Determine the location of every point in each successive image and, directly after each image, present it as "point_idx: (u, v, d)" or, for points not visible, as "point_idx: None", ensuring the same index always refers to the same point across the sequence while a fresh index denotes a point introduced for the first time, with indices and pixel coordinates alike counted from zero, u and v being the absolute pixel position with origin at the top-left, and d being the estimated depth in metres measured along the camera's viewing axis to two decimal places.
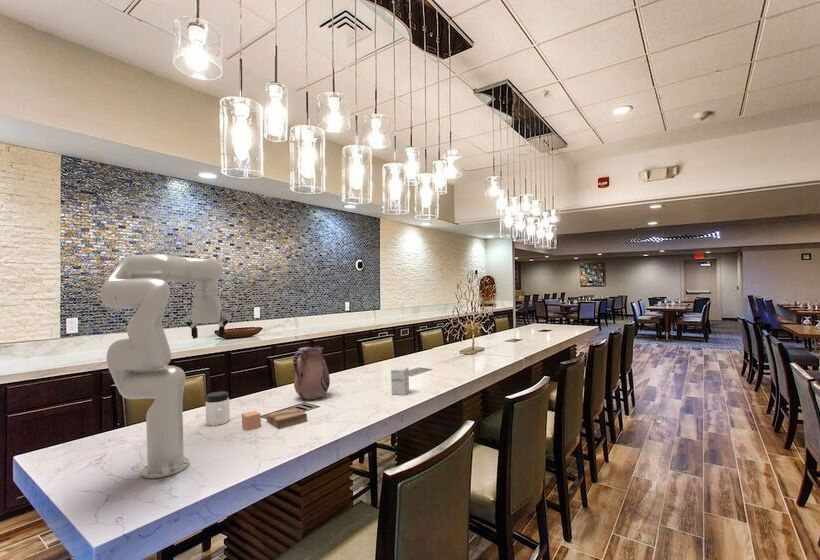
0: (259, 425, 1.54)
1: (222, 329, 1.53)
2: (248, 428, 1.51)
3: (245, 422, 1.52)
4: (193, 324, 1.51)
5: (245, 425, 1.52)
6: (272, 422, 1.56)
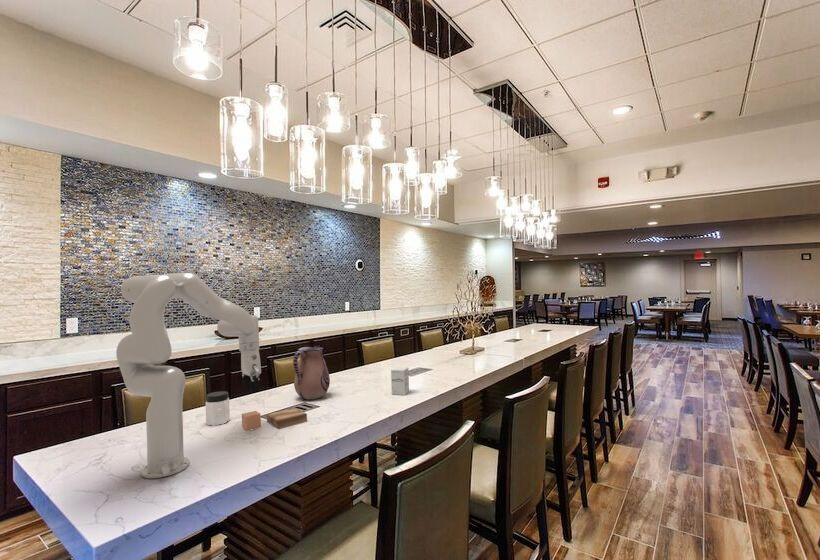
0: (259, 425, 1.54)
1: None
2: (248, 428, 1.51)
3: (245, 422, 1.52)
4: None
5: (245, 425, 1.52)
6: (272, 422, 1.56)
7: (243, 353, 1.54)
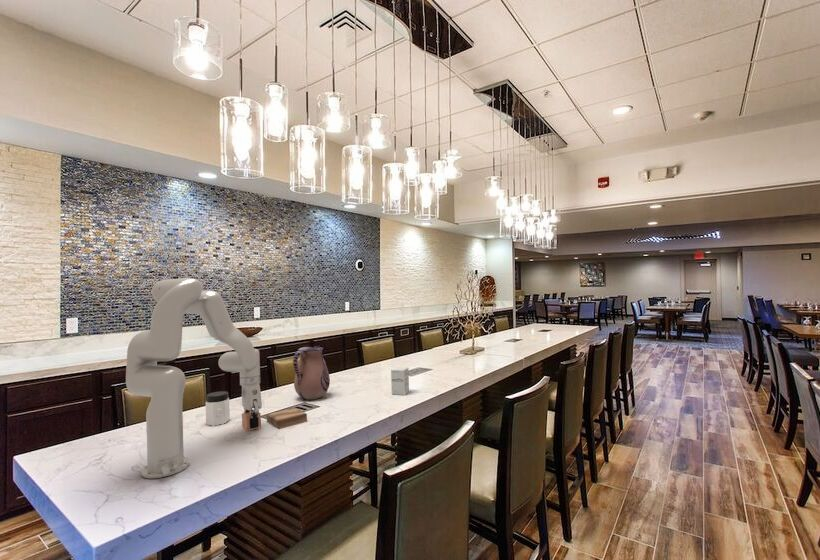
0: (259, 425, 1.54)
1: None
2: (248, 428, 1.51)
3: (245, 422, 1.52)
4: None
5: (245, 425, 1.52)
6: (272, 422, 1.56)
7: (244, 387, 1.53)
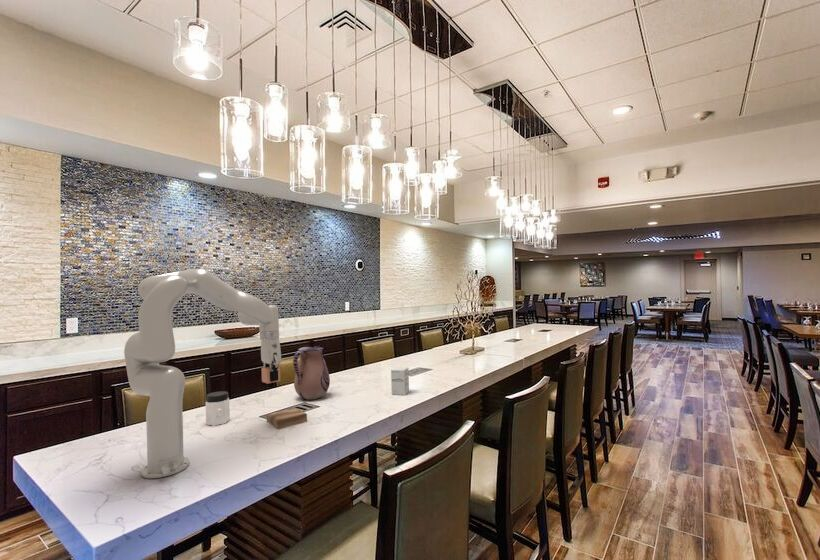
0: (279, 378, 1.58)
1: None
2: (268, 381, 1.55)
3: (265, 375, 1.56)
4: None
5: (265, 378, 1.56)
6: (272, 422, 1.56)
7: (264, 342, 1.57)
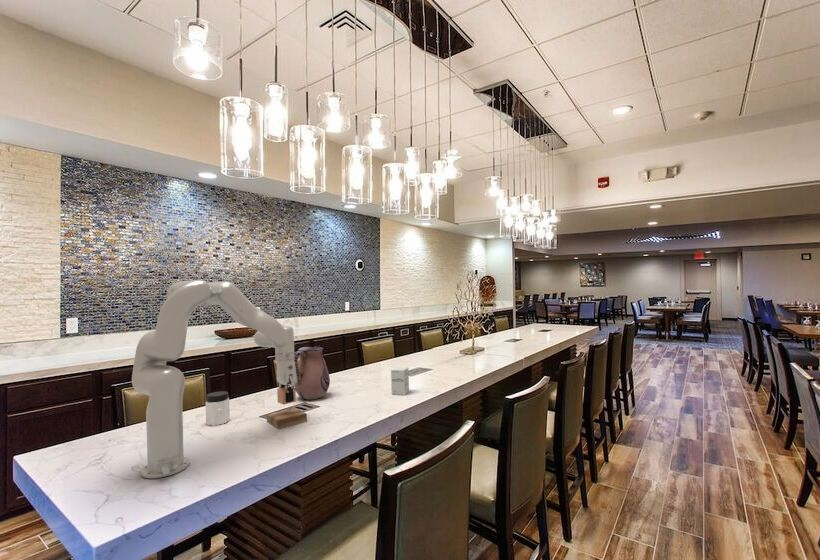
0: (294, 399, 1.60)
1: None
2: (284, 402, 1.57)
3: (281, 396, 1.58)
4: None
5: (281, 399, 1.58)
6: (272, 422, 1.56)
7: (279, 363, 1.59)
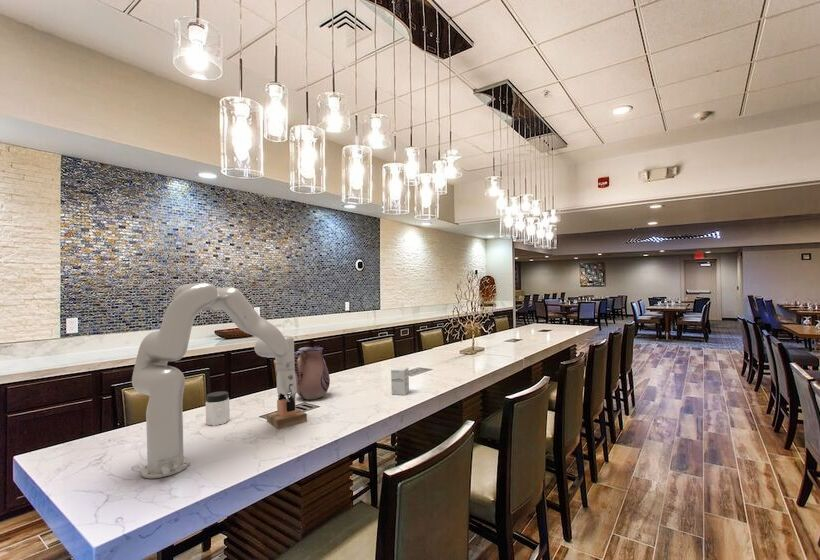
0: (294, 411, 1.60)
1: None
2: (284, 414, 1.57)
3: (281, 408, 1.57)
4: None
5: (281, 411, 1.57)
6: (272, 422, 1.56)
7: (279, 373, 1.59)
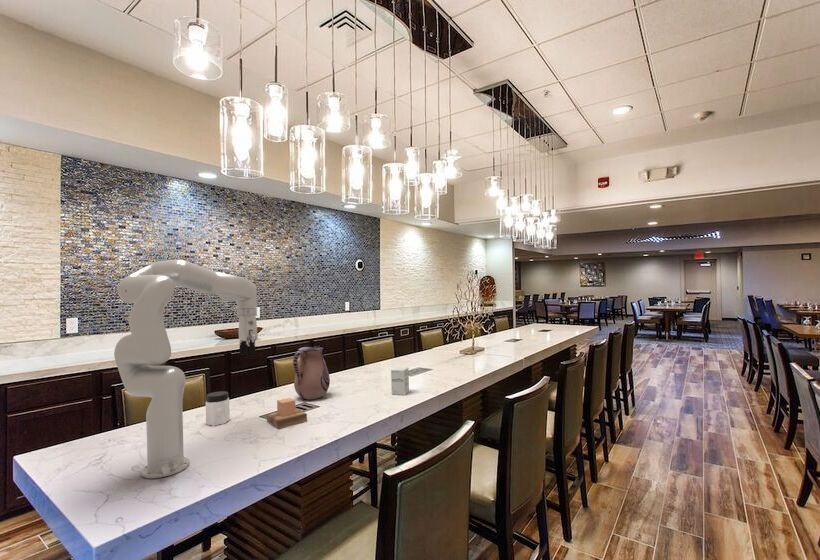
0: (294, 411, 1.60)
1: None
2: (284, 414, 1.57)
3: (281, 408, 1.57)
4: None
5: (281, 411, 1.57)
6: (272, 422, 1.56)
7: (240, 319, 1.57)
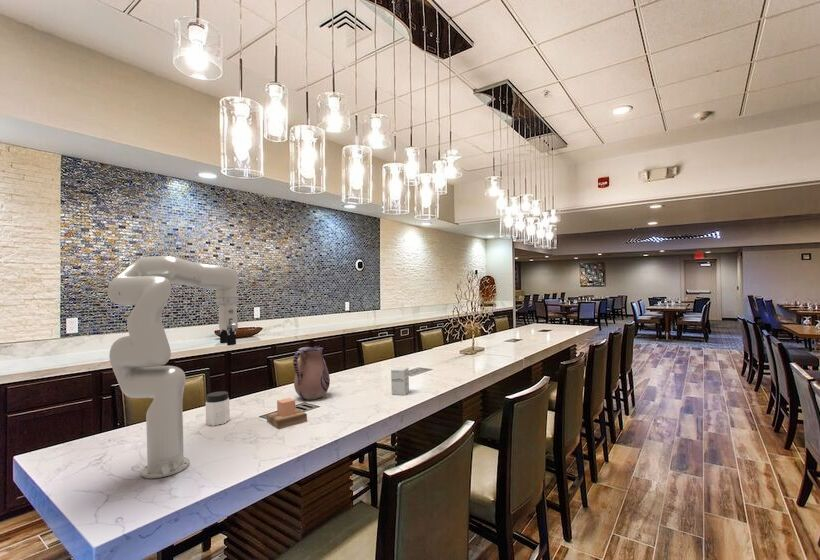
0: (294, 411, 1.60)
1: None
2: (284, 414, 1.57)
3: (281, 408, 1.57)
4: None
5: (281, 411, 1.57)
6: (272, 422, 1.56)
7: (220, 308, 1.55)
